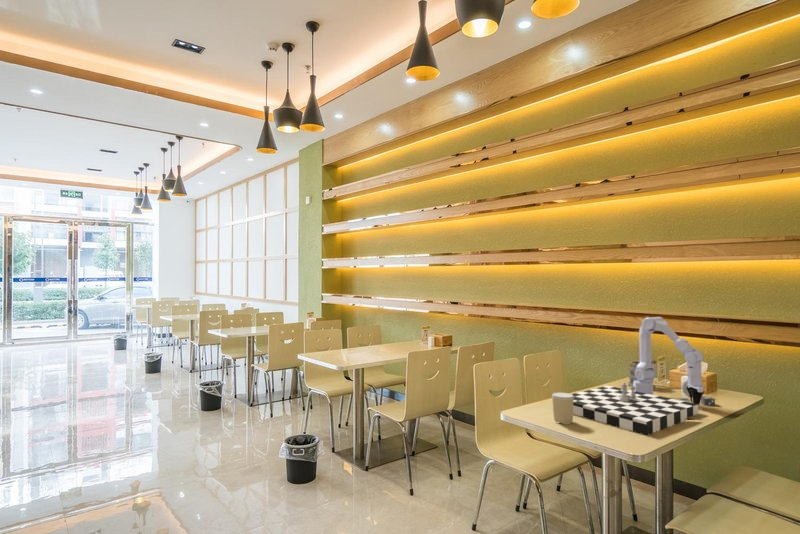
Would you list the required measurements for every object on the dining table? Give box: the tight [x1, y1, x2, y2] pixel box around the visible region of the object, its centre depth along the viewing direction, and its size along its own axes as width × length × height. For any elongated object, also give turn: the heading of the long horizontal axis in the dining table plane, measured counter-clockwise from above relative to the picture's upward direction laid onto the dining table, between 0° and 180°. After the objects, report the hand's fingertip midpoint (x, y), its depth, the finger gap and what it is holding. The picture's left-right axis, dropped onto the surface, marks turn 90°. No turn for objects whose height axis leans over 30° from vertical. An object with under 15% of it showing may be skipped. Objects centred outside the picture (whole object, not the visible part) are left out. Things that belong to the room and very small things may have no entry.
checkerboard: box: [571, 382, 699, 436], centre depth 217 cm, size 45×45×15 cm
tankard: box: [627, 358, 658, 388], centre depth 269 cm, size 20×13×15 cm, turn 109°
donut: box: [680, 378, 690, 398], centre depth 243 cm, size 10×4×10 cm, turn 42°
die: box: [700, 395, 716, 407], centre depth 225 cm, size 4×5×5 cm
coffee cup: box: [551, 391, 574, 425], centre depth 203 cm, size 9×9×12 cm
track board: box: [677, 397, 703, 410], centre depth 227 cm, size 7×21×1 cm, turn 166°
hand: (695, 403), depth 220 cm, fingers closed on pawn, 3 cm apart
